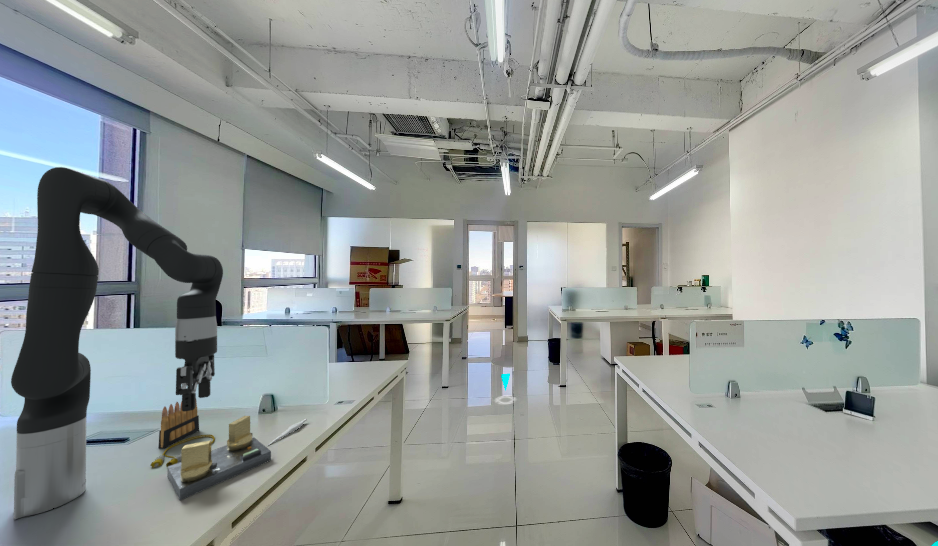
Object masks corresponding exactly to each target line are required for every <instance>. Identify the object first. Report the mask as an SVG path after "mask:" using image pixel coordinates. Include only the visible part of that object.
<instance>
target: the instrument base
mask: <svg viewBox="0 0 938 546" xmlns="http://www.w3.org/2000/svg"><path fill="white" fill-rule="evenodd" d="M211 460H212V463H217V467H216V469H213V470H212V471H211V472H210V473H209V474H207V475H206V476H204V477H202V478H200V479H197V480H194V481H190V482H182V481H181V480H180V477H181V461H180V462H178V463H177V464H174V465H171V466H168V467H167V479H168V481H169V482H170V484H171V486H172V488H173V491H174V492H175V494H176V496H177V498H178V500H179V501H182V500H184V499H186V498H188V497H192V496H194V495H196V494H197V493H200V492H202V491H204V490H207V489H209V488H212V487H214V486H216V485H218V484H220V483H223V482H225V481H228V480H229V479H232V478H234V477H236V476H239V475H241V474H244V473H246V472H248V471H249V470H252V468H253V469H255V468H256V467H260V466H262V465H263V463H264V464H266V463H268V462H270V461H269V460H271V461H272V450H270V449H269V448H268V446H265V445H264V444H263V443H261V442H260V441H259V440H258V439H256V438H255V437H254V436H253V435H252V443H251V444H250V445H249V446H247V447H245V448H242V449H239V450H234V451H230V450H227V444H226V445H224V446H221V447H218V448H216V449H213V450H212V449H211ZM267 461H268V462H267ZM265 462H266V463H265ZM261 464H262V465H261ZM254 467H255V468H254Z"/></svg>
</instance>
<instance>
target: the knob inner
mask: <svg viewBox="0 0 938 546" xmlns="http://www.w3.org/2000/svg"><path fill="white" fill-rule="evenodd" d="M211 442H212V439H211V440H205V441H200V442H195V443H188V444H185V445H184V446H183V447H182V448H180V449H181V450H180V451H181V453H180V455H181V461H180V462H181V477H180V480H181V481H182V482H190V481H194V480H197V479H200V478H202V477H204V476H206V475H207V474H209V473H210V472H211V471H212V470H213V469H216V467H217V463H212V460H211V451H212V444H211Z"/></svg>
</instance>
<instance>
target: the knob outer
mask: <svg viewBox="0 0 938 546" xmlns="http://www.w3.org/2000/svg"><path fill="white" fill-rule="evenodd" d="M252 436H253V432H251V415H243V416H241V417H240V418H238V419H236V420H234V421H232V422H230V423H229V424H228V439H227V440H226V445H227V450H230V451H234V450H239V449H242V448H245V447H247V446H249V445H250V444H251V443H252Z"/></svg>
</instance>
